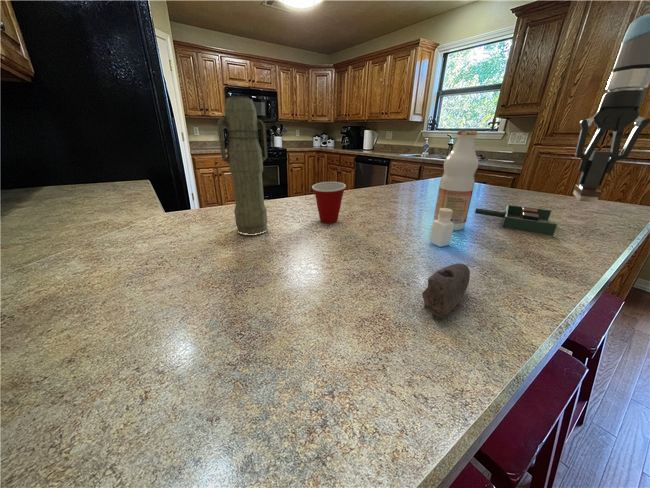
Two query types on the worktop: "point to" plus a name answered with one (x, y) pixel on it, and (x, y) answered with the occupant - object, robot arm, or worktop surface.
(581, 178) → the robot arm
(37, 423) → the worktop surface
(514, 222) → the dustpan
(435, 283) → the perforated stone tool
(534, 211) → the crumb block
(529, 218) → the crumb block
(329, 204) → the plastic cup
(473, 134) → the fruit juice
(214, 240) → the worktop surface
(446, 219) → the pepper shaker
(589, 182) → the brush
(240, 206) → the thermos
